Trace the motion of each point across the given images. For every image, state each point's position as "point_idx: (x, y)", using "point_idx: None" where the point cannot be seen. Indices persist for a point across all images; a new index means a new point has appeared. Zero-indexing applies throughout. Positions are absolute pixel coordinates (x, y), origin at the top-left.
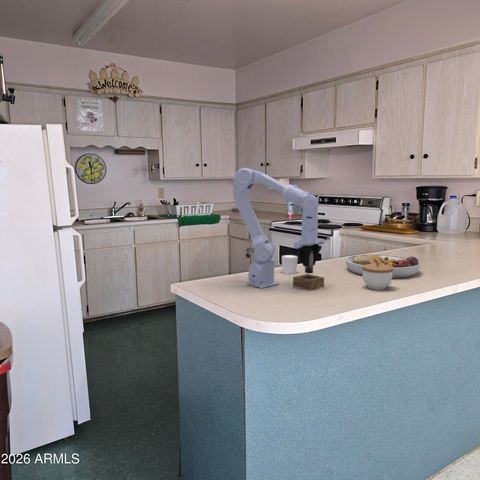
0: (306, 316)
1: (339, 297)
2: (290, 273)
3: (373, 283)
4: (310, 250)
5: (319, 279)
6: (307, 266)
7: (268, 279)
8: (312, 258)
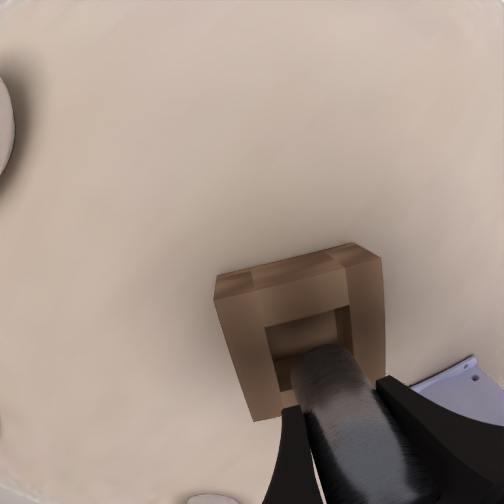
0: (496, 12)
1: (287, 43)
2: (222, 496)
3: (5, 89)
4: (498, 462)
5: (270, 284)
6: (386, 376)
7: (454, 393)
8: (367, 435)
